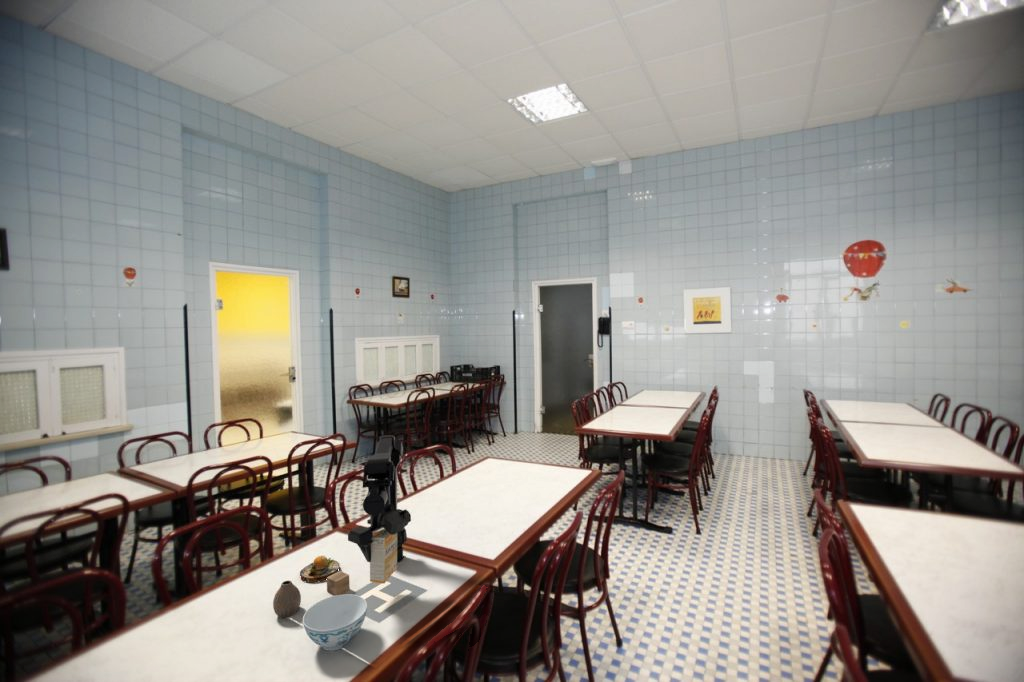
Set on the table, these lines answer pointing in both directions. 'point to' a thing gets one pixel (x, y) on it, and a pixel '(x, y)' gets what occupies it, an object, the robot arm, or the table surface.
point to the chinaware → (335, 620)
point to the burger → (319, 569)
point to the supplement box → (383, 556)
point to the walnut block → (338, 583)
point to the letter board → (387, 597)
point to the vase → (286, 600)
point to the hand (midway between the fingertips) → (381, 554)
